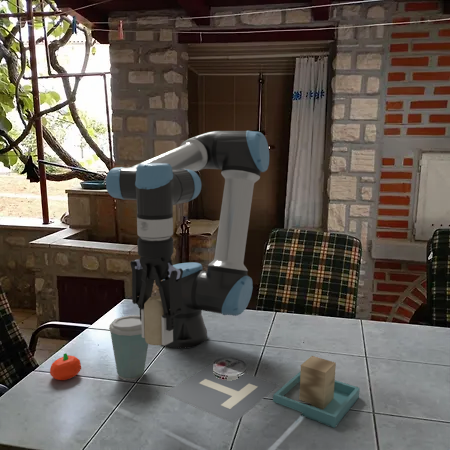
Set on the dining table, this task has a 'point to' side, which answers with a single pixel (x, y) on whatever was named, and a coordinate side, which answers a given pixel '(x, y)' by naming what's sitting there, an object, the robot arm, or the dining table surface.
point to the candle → (153, 320)
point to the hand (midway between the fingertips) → (157, 339)
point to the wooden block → (317, 382)
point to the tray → (332, 412)
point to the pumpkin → (65, 367)
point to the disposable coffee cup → (128, 347)
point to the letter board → (222, 393)
